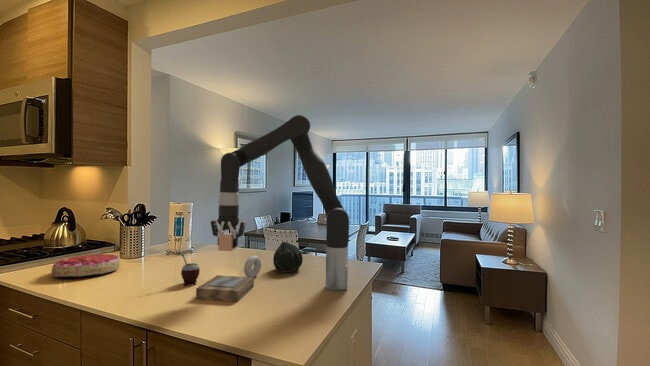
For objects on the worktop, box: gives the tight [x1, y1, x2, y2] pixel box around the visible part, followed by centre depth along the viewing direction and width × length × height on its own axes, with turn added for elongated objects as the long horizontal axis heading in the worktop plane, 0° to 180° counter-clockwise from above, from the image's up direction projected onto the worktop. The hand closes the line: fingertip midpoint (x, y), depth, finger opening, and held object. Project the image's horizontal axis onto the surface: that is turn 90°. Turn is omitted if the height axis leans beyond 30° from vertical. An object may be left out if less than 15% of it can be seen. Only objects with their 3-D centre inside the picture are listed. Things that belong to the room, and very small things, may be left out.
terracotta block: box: [217, 232, 237, 252], centre depth 116 cm, size 5×5×6 cm
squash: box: [273, 241, 304, 273], centre depth 147 cm, size 14×15×15 cm
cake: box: [50, 253, 121, 279], centre depth 138 cm, size 25×25×8 cm
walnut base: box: [195, 274, 255, 303], centre depth 115 cm, size 16×16×4 cm
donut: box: [243, 255, 262, 278], centre depth 135 cm, size 10×4×10 cm, turn 153°
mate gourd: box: [175, 249, 200, 287], centre depth 125 cm, size 8×8×15 cm
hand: (227, 247), depth 116 cm, fingers closed on terracotta block, 5 cm apart
